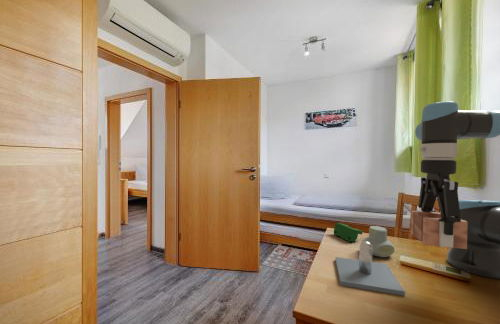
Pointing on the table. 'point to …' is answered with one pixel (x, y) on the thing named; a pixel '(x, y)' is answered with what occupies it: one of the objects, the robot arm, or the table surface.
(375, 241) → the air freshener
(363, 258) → the steel post
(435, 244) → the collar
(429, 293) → the table surface
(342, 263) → the post board
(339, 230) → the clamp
